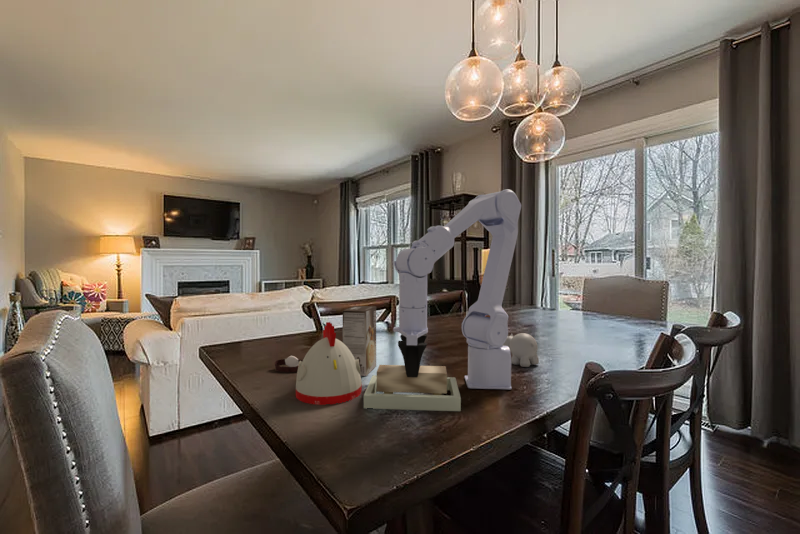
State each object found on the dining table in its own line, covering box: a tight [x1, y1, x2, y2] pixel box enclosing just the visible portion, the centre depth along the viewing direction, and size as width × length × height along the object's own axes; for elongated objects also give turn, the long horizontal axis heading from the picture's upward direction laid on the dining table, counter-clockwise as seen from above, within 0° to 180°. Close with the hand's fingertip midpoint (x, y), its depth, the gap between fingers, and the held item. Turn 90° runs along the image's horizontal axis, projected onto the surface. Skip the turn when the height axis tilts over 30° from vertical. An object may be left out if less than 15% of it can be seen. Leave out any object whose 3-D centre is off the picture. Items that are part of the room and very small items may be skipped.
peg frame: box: [363, 374, 462, 412], centre depth 78 cm, size 18×12×2 cm
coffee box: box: [342, 305, 377, 377], centre depth 97 cm, size 9×6×16 cm
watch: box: [274, 355, 303, 373], centre depth 97 cm, size 8×5×4 cm, turn 85°
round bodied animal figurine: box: [503, 332, 540, 368], centre depth 105 cm, size 7×12×8 cm, turn 30°
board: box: [376, 364, 448, 394], centre depth 78 cm, size 14×5×4 cm, turn 86°
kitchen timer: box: [295, 321, 363, 406], centre depth 81 cm, size 14×14×15 cm
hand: (412, 372), depth 78 cm, fingers closed on board, 5 cm apart
